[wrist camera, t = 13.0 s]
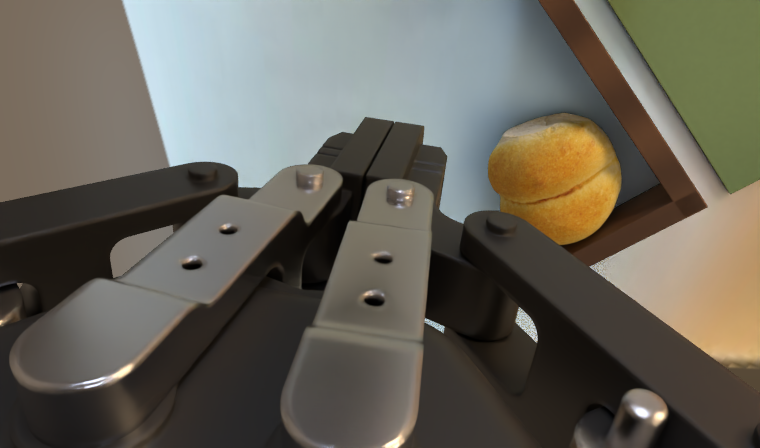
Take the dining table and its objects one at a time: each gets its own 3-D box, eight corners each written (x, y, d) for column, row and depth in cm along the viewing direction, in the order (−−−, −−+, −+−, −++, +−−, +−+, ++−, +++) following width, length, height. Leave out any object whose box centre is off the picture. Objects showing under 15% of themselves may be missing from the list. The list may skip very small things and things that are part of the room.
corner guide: (334, 130, 42) (323, 144, 39) (549, -37, 34) (552, -33, 32) (477, 301, 46) (475, 324, 44) (695, 187, 39) (708, 207, 36)
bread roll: (514, 243, 43) (514, 272, 40) (476, 134, 40) (473, 155, 37) (631, 216, 41) (642, 244, 37) (602, 95, 37) (611, 114, 34)
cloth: (600, -11, 34) (600, -11, 34) (778, -141, 30) (781, -141, 30) (729, 192, 39) (730, 194, 38) (902, 104, 34) (905, 106, 34)
